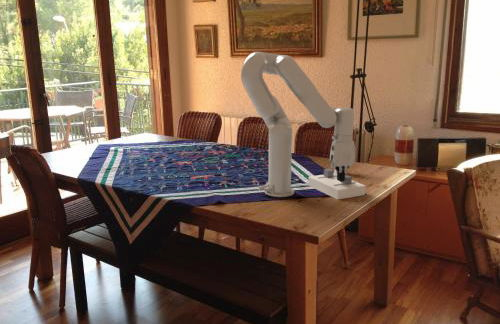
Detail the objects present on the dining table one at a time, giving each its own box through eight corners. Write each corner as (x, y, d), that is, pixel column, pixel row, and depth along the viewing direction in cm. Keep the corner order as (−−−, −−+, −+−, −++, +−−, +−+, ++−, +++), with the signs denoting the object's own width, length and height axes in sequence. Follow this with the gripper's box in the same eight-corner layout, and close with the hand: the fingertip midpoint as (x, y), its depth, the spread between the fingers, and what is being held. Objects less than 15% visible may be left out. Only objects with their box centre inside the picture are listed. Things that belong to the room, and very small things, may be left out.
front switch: (345, 184, 192) (346, 177, 191) (341, 182, 194) (341, 176, 194) (351, 183, 193) (351, 177, 192) (346, 181, 196) (347, 175, 195)
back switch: (327, 177, 202) (328, 171, 201) (323, 175, 205) (323, 169, 204) (333, 176, 203) (333, 170, 202) (329, 174, 206) (329, 168, 205)
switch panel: (337, 199, 186) (338, 189, 185) (308, 185, 205) (308, 176, 204) (364, 194, 192) (365, 185, 191) (333, 181, 211) (334, 172, 210)
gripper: (333, 141, 181) (331, 185, 186) (363, 138, 187) (360, 181, 192) (322, 137, 188) (320, 180, 192) (352, 135, 194) (349, 176, 198)
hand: (340, 180), depth 192 cm, fingers closed
